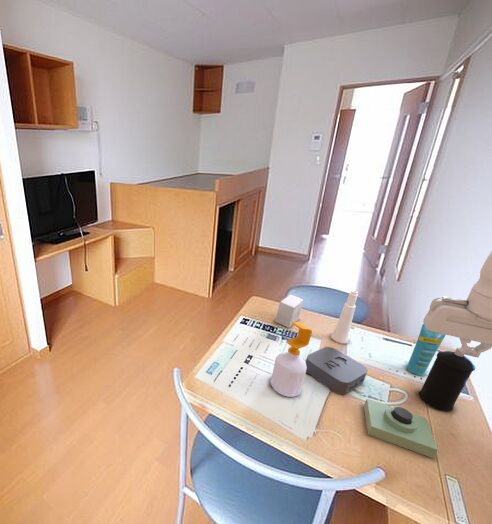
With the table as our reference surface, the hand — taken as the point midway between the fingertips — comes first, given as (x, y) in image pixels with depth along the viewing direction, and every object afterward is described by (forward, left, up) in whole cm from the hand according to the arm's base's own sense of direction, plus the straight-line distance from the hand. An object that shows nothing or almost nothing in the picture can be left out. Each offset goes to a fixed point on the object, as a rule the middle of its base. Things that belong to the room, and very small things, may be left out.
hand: (468, 354), depth 75 cm
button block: (+8, +4, -27) cm, 28 cm away
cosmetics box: (+40, -41, -27) cm, 63 cm away
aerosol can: (-5, -15, -27) cm, 31 cm away
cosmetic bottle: (+20, -37, -27) cm, 50 cm away
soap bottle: (+37, +2, -27) cm, 46 cm away
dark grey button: (+8, +4, -22) cm, 24 cm away
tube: (-3, -29, -27) cm, 40 cm away
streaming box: (+23, -12, -27) cm, 38 cm away
